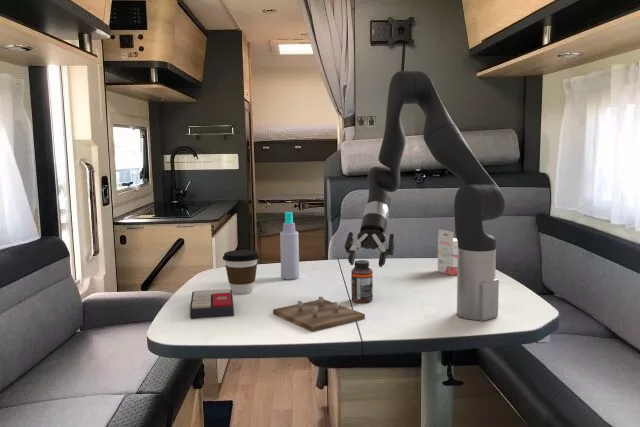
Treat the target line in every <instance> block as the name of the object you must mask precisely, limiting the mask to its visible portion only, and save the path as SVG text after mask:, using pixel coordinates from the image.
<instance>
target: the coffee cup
mask: <svg viewBox="0 0 640 427" xmlns="http://www.w3.org/2000/svg"><path fill="white" fill-rule="evenodd" d="M259 258H260V254H259V253H258V252H257V251H256V250H251V249H236V250H230V251H226V252H225V253H223V256H222V260H223V261H224V262H225V270H226V275H227V280H228V283H229V287H230V288H229V289H230V290H232V295H248V294H251V293H253V290H254V287H255V282H256V276H257V275H256V274H257V268H258V267H257V266H258V260H259Z"/></svg>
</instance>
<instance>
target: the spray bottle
mask: <svg viewBox="0 0 640 427" xmlns="http://www.w3.org/2000/svg"><path fill="white" fill-rule="evenodd" d="M284 218H285V219H284V223H282V225H283V226H282V231H280V233H279V238H280V239H279V240H280V241H279V242H280V243H279V244H280V248H279V249H280V250H279V251H280V277H281V279H282V280H285V279H286V280H285V281H287V280H288V281H290V280H291V281H292V280H293V279H294V280H297V279H299V277H300V255H299V254H300V250H299V249H300V247H299V244H300V243H299V241H300V240H299V232H298V231H297V230H296V223H295V222H294V216H293V211H285V212H284Z"/></svg>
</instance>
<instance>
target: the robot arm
mask: <svg viewBox="0 0 640 427" xmlns="http://www.w3.org/2000/svg"><path fill="white" fill-rule="evenodd" d="M404 105H418V106H419V107H420V109H421V110H422V112H423V115H424V116H425V118H424V125H423V132H422V133H423V134H422V135H423V140H424V142H425V145H426V147H427V148H428V150H429V152H430V153H431V156H432V157H433V158H434V159H435V161H437V163H439V164H440V165H441V167H443V168H444V169H446V170H447V171H448V172H450V173H452V174H453V175H454V176H456V178H458V179H459V180H460V181H461V182H462V183H463V184H464V185H462V186H461V187H459V188H458V189H457V191H456V193H455V196H454V201H453V202H454V204H453V205H454V206H453V208H454V209H453V211H454V212H453V214H454V233H455V238H456V239H457V241H458V265H457V275H456V276H457V280H456V282H457V283H456V290H457V291H456V315H457V316H459V317H460V318H464V319H467V320H474V321H475V320H476V321H480V322H485V321H488V320H491V319H494V318H498V317H499V294H500V293H499V289H500V288H499V287H500V285H499V284H500V282H499V281H500V280H499V279H498V278H496V261H497V260H496V258H497V239H496V237H495V236H494V235H491V234H488V233H487V232H485V231H484V227H483V222H484V221H492V220H496V219H498V218H500V217H501V216H502V215H503V214H504V211H505V209H506V208H505V207H506V204H505V203H506V201H505V197H504V195H503V192H502V190H501V189H500V188H499V187H500V186H498V184H497V183H496V182H495V181H494V180H493V178H492V177H491V176H490V174H489V173H488V172H487V171H486V169H485V168H484V167H483V166H482V164H481V163H480V162H479V159H477V157H476V156H475V154H474V152H473V151H472V150H471V148H470V146H469V145H468V144H467V142H466V140H465V138H464V136H463V135H462V132H460V130H459V128H458V126H457V125H456V124H455V122H454V121H453V120H452V118H451V116H450V113H449V112H448V111H447V109H446V108H445V106H444V104H443V102H442V100H441V98H440V96H439V93H438V92H437V90H436V87H435V85H434V83H433V81H432V79H431V77H430V76H429V74H427V73H426V72H424V71H420V70H413V71H412V70H408V71H407V70H403V71H402V70H401V71H396V72H395V73H394V74H393V75H392V77H391V78H390V82H389V87H388V94H387V106H386V115H385V124H384V125H385V127H384V132H383V137H382V138H383V139H382V142H381V145H380V149H379V153H378V161H379V163H380V164H381V165H383V166H385V167H387V168H385V167H381V166H374V167H372V168H370V169H369V171H368V173H367V188H368V198H367V202H366V206H365V209H364V211H363V217H362V221H361V226H360V229H359V232H358V234H354V233H353V232H352V231H350V232H349V233H348V234H347V238H346V241H345V243H344V249H345V252H346V253H347V254H348V258H347V260H348V263H349V264H350V266H355V261H356V260H355V259H356V254H357V253H358V252H361V251H363V249H364V250H371V249H372V250H376V249H378V251H379V253H380V254H379V259H378V267H379V268H382V267H383V266H385V265H386V259H387V256H394V252H395V245H396V244H395V243H396V242H395V241H396V238H395V236H394V234H393V233H390V234H389V235H386V232H387V227H388V222H389V217H390V216H389V215H390V212H389V211H390V208H391V207H390V206H391V201H392V196H391V194H390V193H395V192H396V191H397V190H398V189H399V187H400V186H401V185H400V184H401V163H402V157H403V155H404V154H403V153H404V150H405V146H406V133H405V131H404V127H403V123H402V119H401V113H402V110H403V106H404ZM385 242H387V243H388V247H387V248H385V246H384V245H383V244H384V243H385ZM353 243H354V244H353Z"/></svg>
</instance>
